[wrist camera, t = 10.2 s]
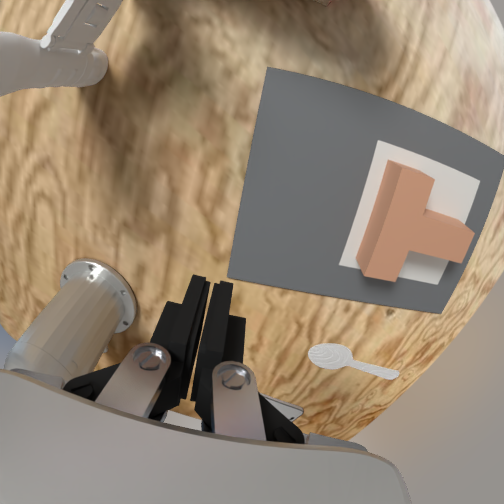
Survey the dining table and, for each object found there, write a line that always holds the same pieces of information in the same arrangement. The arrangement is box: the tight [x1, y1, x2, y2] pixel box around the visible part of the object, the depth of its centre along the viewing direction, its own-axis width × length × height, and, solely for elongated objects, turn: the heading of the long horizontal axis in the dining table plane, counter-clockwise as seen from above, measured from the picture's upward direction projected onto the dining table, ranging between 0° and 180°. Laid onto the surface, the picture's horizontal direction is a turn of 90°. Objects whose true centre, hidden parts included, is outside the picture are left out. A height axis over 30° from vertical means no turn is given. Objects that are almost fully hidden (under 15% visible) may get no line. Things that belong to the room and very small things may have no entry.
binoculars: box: [0, 0, 123, 96], centre depth 16 cm, size 17×5×18 cm, turn 143°
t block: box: [356, 160, 475, 282], centre depth 30 cm, size 12×12×4 cm
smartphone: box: [260, 393, 303, 422], centre depth 50 cm, size 7×1×15 cm
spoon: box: [308, 343, 399, 380], centre depth 44 cm, size 5×18×1 cm, turn 66°
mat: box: [227, 67, 504, 314], centre depth 32 cm, size 24×31×1 cm
